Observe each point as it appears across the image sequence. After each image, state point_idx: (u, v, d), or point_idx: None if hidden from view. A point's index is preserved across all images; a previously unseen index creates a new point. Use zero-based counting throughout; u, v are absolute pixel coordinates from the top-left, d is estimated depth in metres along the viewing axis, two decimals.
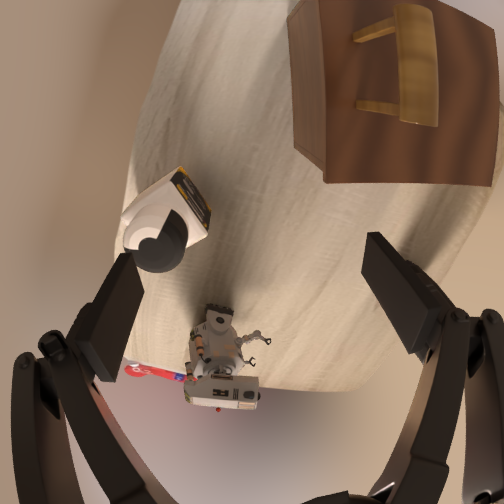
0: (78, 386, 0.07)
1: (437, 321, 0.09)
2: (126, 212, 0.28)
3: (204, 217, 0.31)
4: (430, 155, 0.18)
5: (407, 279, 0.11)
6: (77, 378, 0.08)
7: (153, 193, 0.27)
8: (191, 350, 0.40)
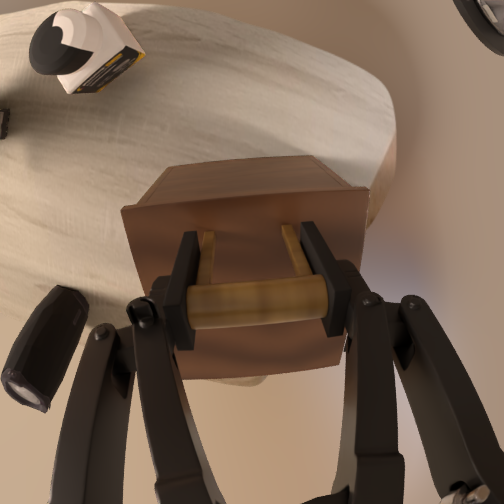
0: (160, 357, 0.09)
1: (350, 304, 0.11)
2: (97, 7, 0.15)
3: (88, 86, 0.21)
4: None
5: (323, 263, 0.13)
6: (161, 349, 0.09)
7: (113, 31, 0.17)
8: None
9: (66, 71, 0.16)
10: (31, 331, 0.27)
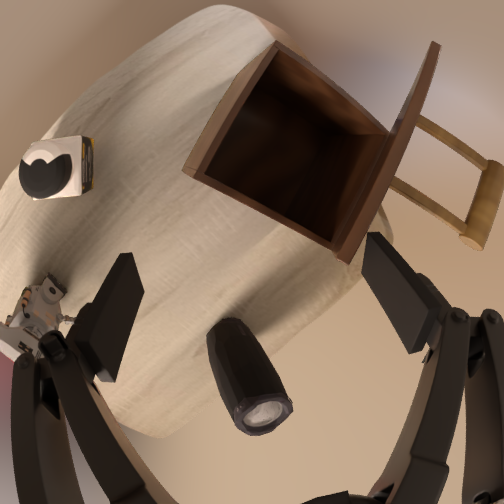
0: (78, 386, 0.07)
1: (437, 321, 0.09)
2: (37, 141, 0.24)
3: (85, 183, 0.30)
4: None
5: (407, 279, 0.11)
6: (77, 378, 0.08)
7: (64, 138, 0.25)
8: (17, 305, 0.30)
9: (67, 176, 0.24)
10: (222, 368, 0.36)
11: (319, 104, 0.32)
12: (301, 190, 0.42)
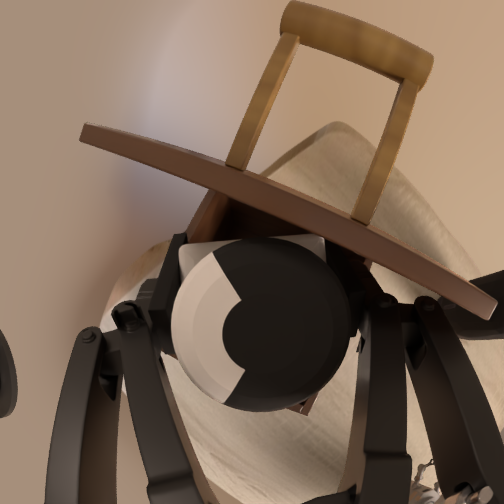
0: (146, 361, 0.08)
1: (364, 305, 0.11)
2: None
3: None
4: None
5: (336, 264, 0.12)
6: (147, 352, 0.09)
7: None
8: None
9: None
10: (488, 335, 0.25)
11: None
12: None
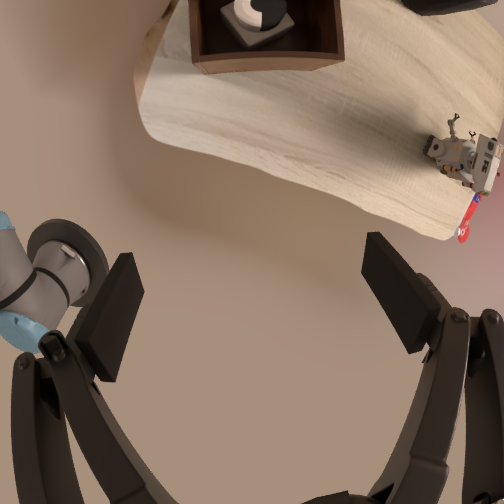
0: (78, 386, 0.07)
1: (437, 321, 0.09)
2: (245, 40, 0.28)
3: None
4: None
5: (407, 279, 0.11)
6: (77, 378, 0.08)
7: (229, 19, 0.27)
8: (454, 177, 0.41)
9: None
10: (452, 7, 0.20)
11: (200, 2, 0.24)
12: None
